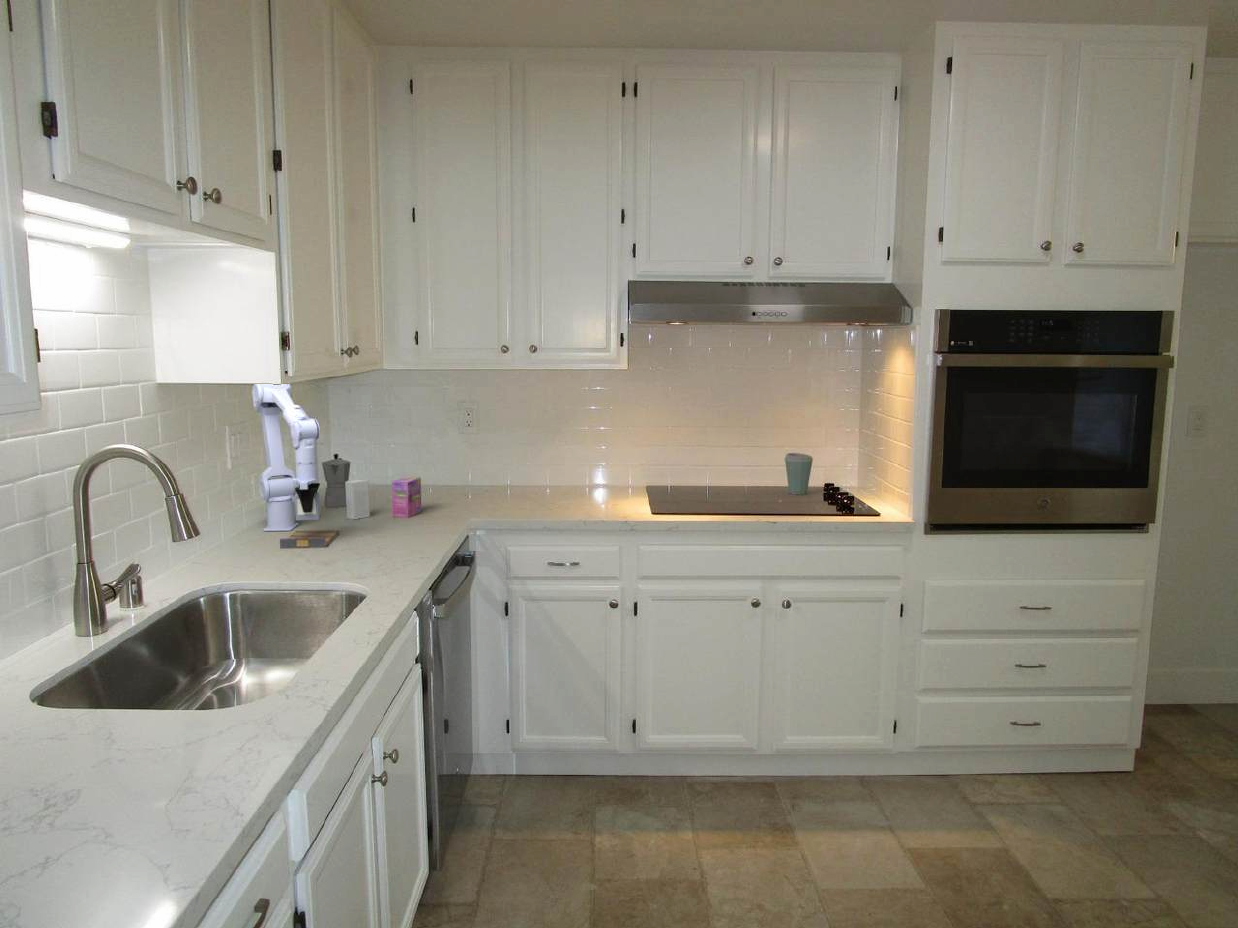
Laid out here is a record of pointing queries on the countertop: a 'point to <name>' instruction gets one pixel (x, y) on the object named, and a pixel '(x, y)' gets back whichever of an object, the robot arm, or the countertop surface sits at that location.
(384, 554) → the countertop surface
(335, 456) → the coffeepot
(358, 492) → the skincare box
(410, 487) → the box
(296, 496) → the carton
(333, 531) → the shelf board
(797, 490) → the disposable coffee cup
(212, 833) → the countertop surface
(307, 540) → the price rail
